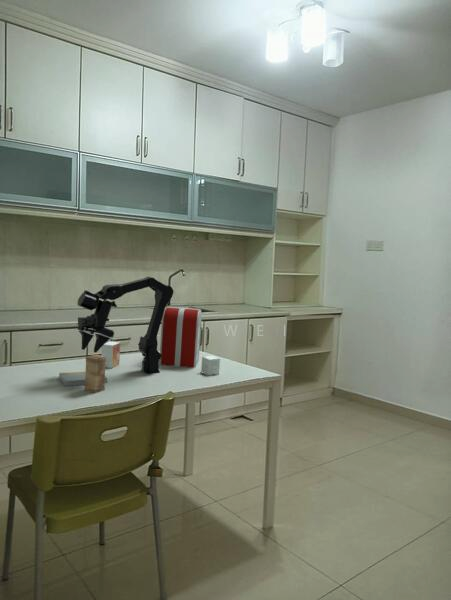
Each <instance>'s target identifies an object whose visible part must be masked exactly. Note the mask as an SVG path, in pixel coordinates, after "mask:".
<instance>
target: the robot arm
mask: <svg viewBox="0 0 451 600" xmlns="http://www.w3.org/2000/svg"><path fill="white" fill-rule="evenodd" d="M147 288H150V289H151V290H152V291H153V292H154V302H155V303H154V305H153V306H154V307H153V311H152V313H151V317H150V320H149V323H148V327H147V331H146V334H145V335H144V336H140V337H139V341H138V344H137V345H138V351H139V352H140V353H141V356H142V362H141V371H142V372H144V373H145V374H153V373H154V374H155V373H160V370H159V368H160V367H159V366H160V365H159V360H160V358H161V356H162V355H161V354H160V351H159V350H158V346H159V345H158V334H159V329H160V328H161V325H162V317H163V314H164V310H165V308H166V307H167V305H169V303H170V302H171V300H172V298H173V295H174V293H175V292H174V289H173V287H172V286H170V285H166V284H164V283H163V282H161V281H158V280H157V279H156V278H154V277H152V276H146V277H144V278H139V279H136V280H132V281H129V282H125V283H120V284H119V283H118V284H117V283H116V284H115V283H114V284H106V285H103V286H102V288H101V290H99V291H97V292H96V293H92V292H90V291H89V290H85V289H84V290H83V292H82V293H81V294H80V296H79V297H78V299H77V306H78V307H81V308H82V309H83V308H84V309H86V310H89V311H93V310H94V312H93V313H91V314H90V315H87V316H82V317H80V316H79V317H77V326H78V327H77V330H78V332H79V334H80V335H81V350H83V351H85V349H86V348H87V346H89V344H90V342H91V340H92V339H93V338H94V337H95V338H96V339H95V344H94V347H93V353H96V354H97V353H98V352H99V350H100V349H102V346H103V345H104V344H105V343H108V342H109V341H110V340H111V339H112V338H114V335H115V331H114V330H112V329H110V328H107V327H106V325H107V322H109V321H110V318H109V316H110V312H111V309H112V308H118V305H117V303H116V301H115V300H117V299H119V298H121V297H123V296H124V295H126V294H128V293H132V292H135V291H139V290H142V289H147ZM94 335H95V336H94Z"/></svg>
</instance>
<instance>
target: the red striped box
mask: <svg viewBox="0 0 451 600" xmlns="http://www.w3.org/2000/svg"><path fill="white" fill-rule="evenodd" d="M202 314H203V313H202V309H200V308H192V307H191V308H190V307H189V308H188V307H178V306H177V307H176V306H166V307H165V310H164V314H163V317H162V320H161V324H160V342H159V343H160V346H159V353H160V354H161V355H162V356H161V358H160V360H159V366H168V367H169V366H170V367H172V366H173V367H181V368H182V367H184V368H194V369H195V368H196V367H197V365H198V363H199V360H200V348H201V346H200V345H201V332H202V331H201V329H202Z"/></svg>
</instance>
